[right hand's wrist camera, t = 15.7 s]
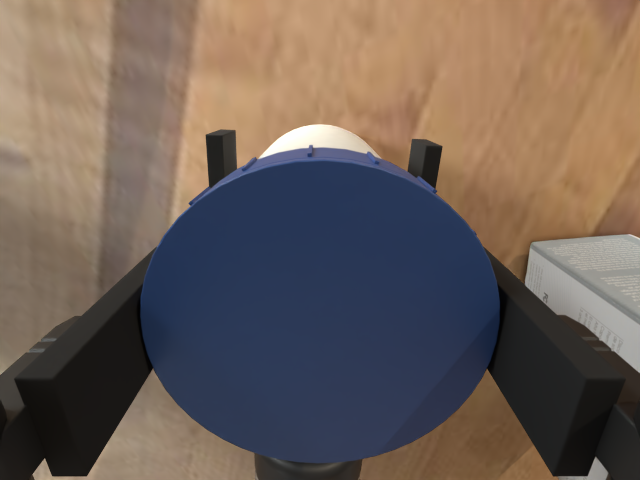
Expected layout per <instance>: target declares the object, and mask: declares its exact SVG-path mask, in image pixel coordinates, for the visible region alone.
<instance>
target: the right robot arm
mask: <svg viewBox="0 0 640 480" xmlns="http://www.w3.org/2000/svg"><path fill="white" fill-rule="evenodd" d="M156 248H157V247H156ZM156 248H155V249H154V250H152V251H151V252H150V253H149V254H148V255H147V256H146V257H145V258H144V259H143V260H142V261H141V262H139V263H138V264H137V265H136V266H135V267H134V268H133V269H132V270H131V271H130V272H129V273H128V274H127V275H125V276H124V277H123V278H122V279H121V280H120V281H119V282H118V283H117V284H116V285H115V286H114V287H112V288H111V289H110V290H109V291H108V292H107V293H106V294H105V295H104V296H103V297H102V298H101V299H99V300H98V301H97V302H96V303H95V304H94V305H93V306H92V307H91V308H90V309H89V310H88V311H86V312H85V313H84V314H83V315H82V316H74V317H73V318H71V319H69V320H67V321H65V322H63V323H62V324H60V325H58V326H56V327H55V328H54V329H53V330H51V331H50V332H49V333H48V334H47V335H46V336H45V337H43V338H42V339H41V342H38V343H37V344H35V345H34V346H33V347H32V348H31V349H30V350H29V353H25V354H24V355H23V356H22V357H21V358H19V359H18V360H17V361H16V362H15V363H14V364H13V365H11V366H10V367H9V368H8V369H7V370H6V371H5V372H3V373H2V374H1V375H0V480H34V477H33V475H32V474H33V473H34V471H35V470H36V469H37V467H38V466H39V465H40V463H41V462H42V461H43V459H44V458H45V459H46V462H47V464H48V467H49V469H50V472H51V474H52V476H87V475H88V473H89V472H90V470H91V469H92V467H93V465H94V464H95V462H96V460H97V459H98V457H99V455H100V454H101V452H102V451H103V449H104V447H105V446H106V444H107V442H108V441H109V439H110V438H111V436H112V434H113V433H114V431H115V429H116V428H117V426H118V424H119V423H120V421H121V420H122V418H123V416H124V415H125V413H126V411H127V410H128V408H129V407H130V405H131V403H132V402H133V400H134V398H135V397H136V395H137V393H138V392H139V390H140V389H141V387H142V385H143V384H144V382H145V380H146V379H147V377H148V376H149V374H150V372H151V371H152V369H153V366H152V364H151V362H150V359H149V357H148V355H147V351H146V347H145V344H144V340H143V336H142V328H141V319H140V309H141V293H142V288H143V284H144V279H145V274H146V272H147V269H148V266H149V264H150V261H151V258H152V256H153V254H154V252H155V250H156ZM483 248H484V247H483ZM484 250H485V252H486V254H487V256H488V258H489V260H490V262H491V265H492V268H493V271H494V274H495V277H496V281H497V287H498V293H499V299H500V324H499V330H498V336H497V342H496V345H495V348H494V352H493V355H492V358H491V361H490V363H489V365H488V367H487V369H488V371H489V372H490V374H491V376H492V377H493V379H494V380H495V382H496V384H497V385H498V387H499V389H500V390H501V392H502V393H503V395H504V397H505V398H506V400H507V402H508V403H509V405H510V407H511V408H512V410H513V411H514V413H515V415H516V416H517V418H518V420H519V421H520V423H521V424H522V426H523V428H524V429H525V431H526V433H527V434H528V436H529V438H530V439H531V441H532V442H533V444H534V446H535V447H536V449H537V451H538V452H539V454H540V455H541V457H542V459H543V460H544V462H545V464H546V465H547V467H548V469H549V470H550V472H551V473H552V475H553V476H588V474H589V472H590V469H591V467H592V464H593V462H594V459H595V457H597V459H598V460H599V461H600V463H601V464H602V465H603V467H604V468H605V469H606V470H607V472H608V475H607V477H606V480H640V373H639V372H638V371H637V370H635V369H634V368H633V367H632V366H631V365H630V364H628V363H627V362H626V361H625V360H624V359H623V358H622V357H620V356H619V355H618V354H617V353H616V352H615V351H611V348H610V347H609V346H608V345H607V344H605V343H604V342H603V341H602V340H599V337H597V336H596V335H595V334H594V333H593V332H592V331H590V330H589V329H588V328H587V327H586V326H585V325H583V324H581V323H579V322H577V321H576V320H574V319H572V318H570V317H568V316H566V315H557V314H556V313H555V312H554V311H552V310H551V309H550V308H549V307H548V306H547V305H546V304H545V303H544V302H543V301H542V300H541V299H539V298H538V297H537V296H536V295H535V294H534V293H533V292H532V291H531V290H530V289H529V288H528V287H526V286H525V285H524V284H523V283H522V282H521V281H520V280H519V279H518V278H517V277H516V276H515V275H513V274H512V273H511V272H510V271H509V270H508V269H507V268H506V267H505V266H504V265H503V264H502V263H500V262H499V261H498V260H497V259H496V258H495V257H494V256H493V255H492V254H491V253H490V252H489V251H488V250H486V249H485V248H484Z"/></svg>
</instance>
